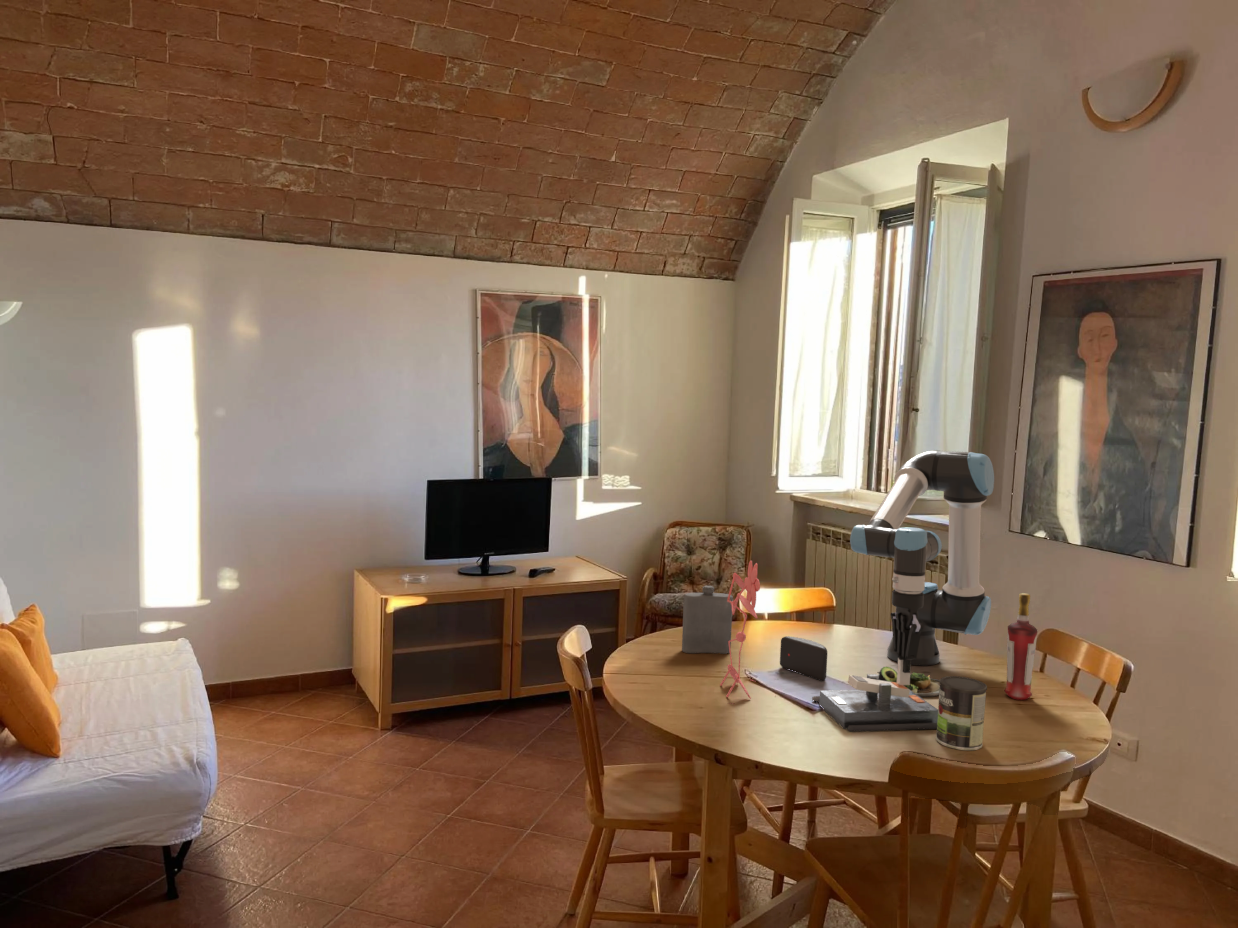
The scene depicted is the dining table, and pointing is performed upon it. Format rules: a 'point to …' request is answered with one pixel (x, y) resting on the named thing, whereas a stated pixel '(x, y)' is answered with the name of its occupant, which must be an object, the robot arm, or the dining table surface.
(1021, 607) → the liquor
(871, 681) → the rocker
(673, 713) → the dining table surface
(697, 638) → the flask
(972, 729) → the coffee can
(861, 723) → the lever switch plate
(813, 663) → the black rounded flat block
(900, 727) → the rods
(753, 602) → the figurine
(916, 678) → the salad plate
